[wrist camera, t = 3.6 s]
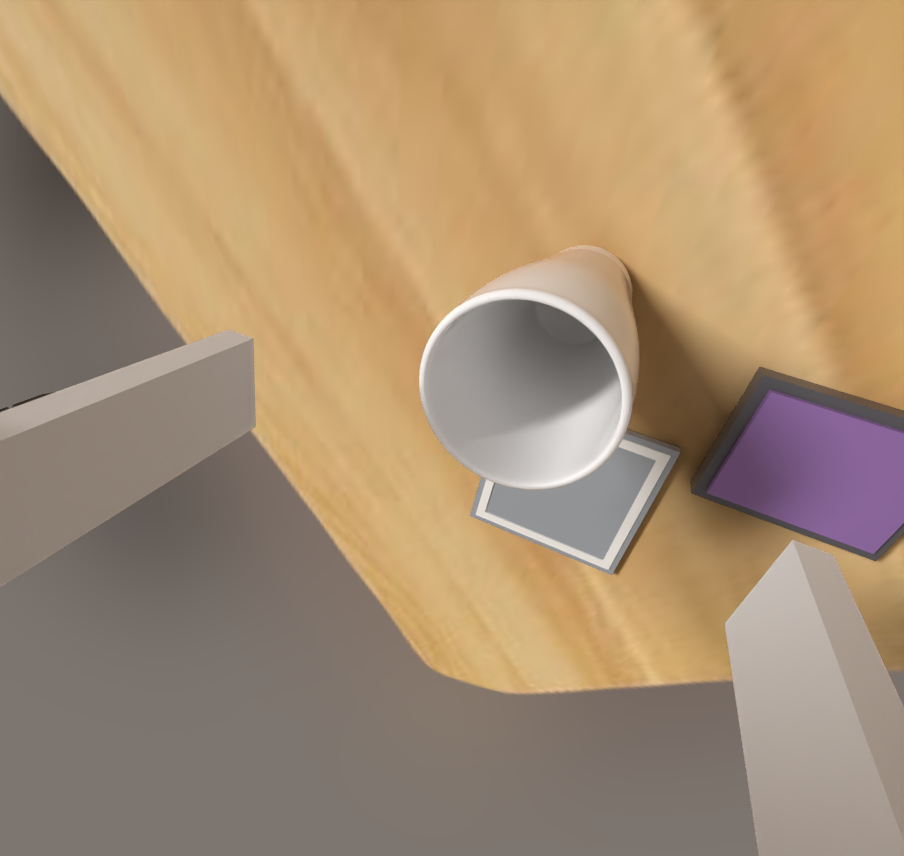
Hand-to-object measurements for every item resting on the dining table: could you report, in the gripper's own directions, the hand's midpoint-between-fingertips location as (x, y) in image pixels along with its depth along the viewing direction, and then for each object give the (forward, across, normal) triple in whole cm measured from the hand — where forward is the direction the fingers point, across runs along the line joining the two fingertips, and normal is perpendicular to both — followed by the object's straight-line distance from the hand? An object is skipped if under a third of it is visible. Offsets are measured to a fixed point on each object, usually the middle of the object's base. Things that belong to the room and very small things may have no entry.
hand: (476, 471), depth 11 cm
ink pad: (+19, +15, -5) cm, 24 cm away
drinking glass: (+19, 0, 0) cm, 19 cm away
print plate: (+19, +3, -12) cm, 23 cm away
